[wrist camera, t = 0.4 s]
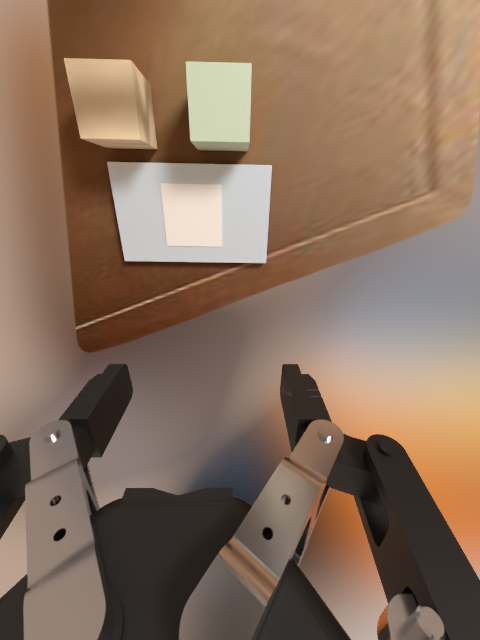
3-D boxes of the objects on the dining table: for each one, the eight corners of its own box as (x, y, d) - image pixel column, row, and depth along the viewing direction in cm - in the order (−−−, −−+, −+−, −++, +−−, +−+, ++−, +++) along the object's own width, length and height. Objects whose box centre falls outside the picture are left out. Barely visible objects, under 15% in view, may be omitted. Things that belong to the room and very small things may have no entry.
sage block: (195, 86, 29) (185, 61, 23) (249, 87, 29) (251, 63, 23) (198, 150, 31) (190, 141, 26) (247, 151, 31) (249, 142, 26)
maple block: (96, 83, 29) (63, 58, 23) (150, 85, 29) (130, 59, 23) (107, 148, 31) (80, 138, 26) (157, 149, 31) (140, 139, 26)
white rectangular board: (109, 162, 32) (106, 161, 31) (271, 165, 32) (272, 165, 31) (127, 259, 37) (124, 261, 36) (265, 261, 37) (266, 263, 36)
